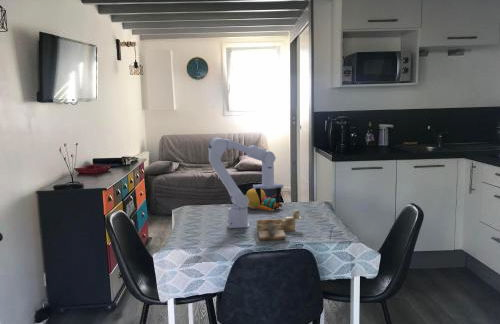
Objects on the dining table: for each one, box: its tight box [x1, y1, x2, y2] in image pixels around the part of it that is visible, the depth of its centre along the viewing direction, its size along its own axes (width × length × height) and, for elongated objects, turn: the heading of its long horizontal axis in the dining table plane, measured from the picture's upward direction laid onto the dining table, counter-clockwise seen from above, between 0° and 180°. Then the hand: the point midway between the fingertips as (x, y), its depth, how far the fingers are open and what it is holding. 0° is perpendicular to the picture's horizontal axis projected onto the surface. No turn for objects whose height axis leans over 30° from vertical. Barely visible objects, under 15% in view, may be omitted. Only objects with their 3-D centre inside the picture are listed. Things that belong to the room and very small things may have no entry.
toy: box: [244, 188, 284, 212], centre depth 245 cm, size 19×11×25 cm
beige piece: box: [284, 209, 302, 221], centre depth 202 cm, size 7×3×4 cm, turn 92°
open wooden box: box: [256, 218, 296, 233], centre depth 202 cm, size 17×9×5 cm, turn 92°
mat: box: [254, 232, 291, 245], centre depth 190 cm, size 14×12×1 cm
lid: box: [257, 223, 286, 240], centre depth 190 cm, size 11×9×6 cm
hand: (268, 203), depth 215 cm, fingers open, 7 cm apart
